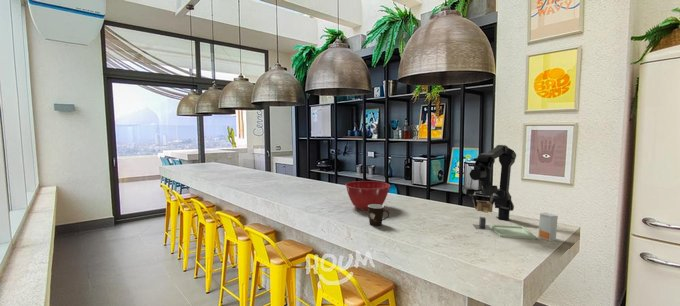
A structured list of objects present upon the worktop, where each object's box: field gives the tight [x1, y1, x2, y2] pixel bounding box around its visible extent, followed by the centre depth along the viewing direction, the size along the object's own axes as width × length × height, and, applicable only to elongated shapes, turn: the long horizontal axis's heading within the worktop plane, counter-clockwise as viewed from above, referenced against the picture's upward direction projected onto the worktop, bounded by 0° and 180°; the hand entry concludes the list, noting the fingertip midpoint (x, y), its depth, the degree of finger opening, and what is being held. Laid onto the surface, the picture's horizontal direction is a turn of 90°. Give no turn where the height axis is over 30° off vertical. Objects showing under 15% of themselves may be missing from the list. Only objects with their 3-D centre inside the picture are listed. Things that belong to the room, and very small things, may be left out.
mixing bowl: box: [345, 180, 391, 211], centre depth 207 cm, size 28×28×16 cm
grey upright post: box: [472, 216, 493, 231], centre depth 169 cm, size 8×8×6 cm
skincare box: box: [537, 212, 559, 242], centre depth 153 cm, size 6×4×12 cm
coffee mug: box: [367, 204, 390, 227], centre depth 171 cm, size 12×9×10 cm
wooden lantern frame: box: [473, 199, 494, 214], centre depth 167 cm, size 9×7×4 cm
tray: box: [489, 223, 537, 240], centre depth 161 cm, size 16×16×2 cm
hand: (483, 208), depth 168 cm, fingers closed on wooden lantern frame, 7 cm apart
